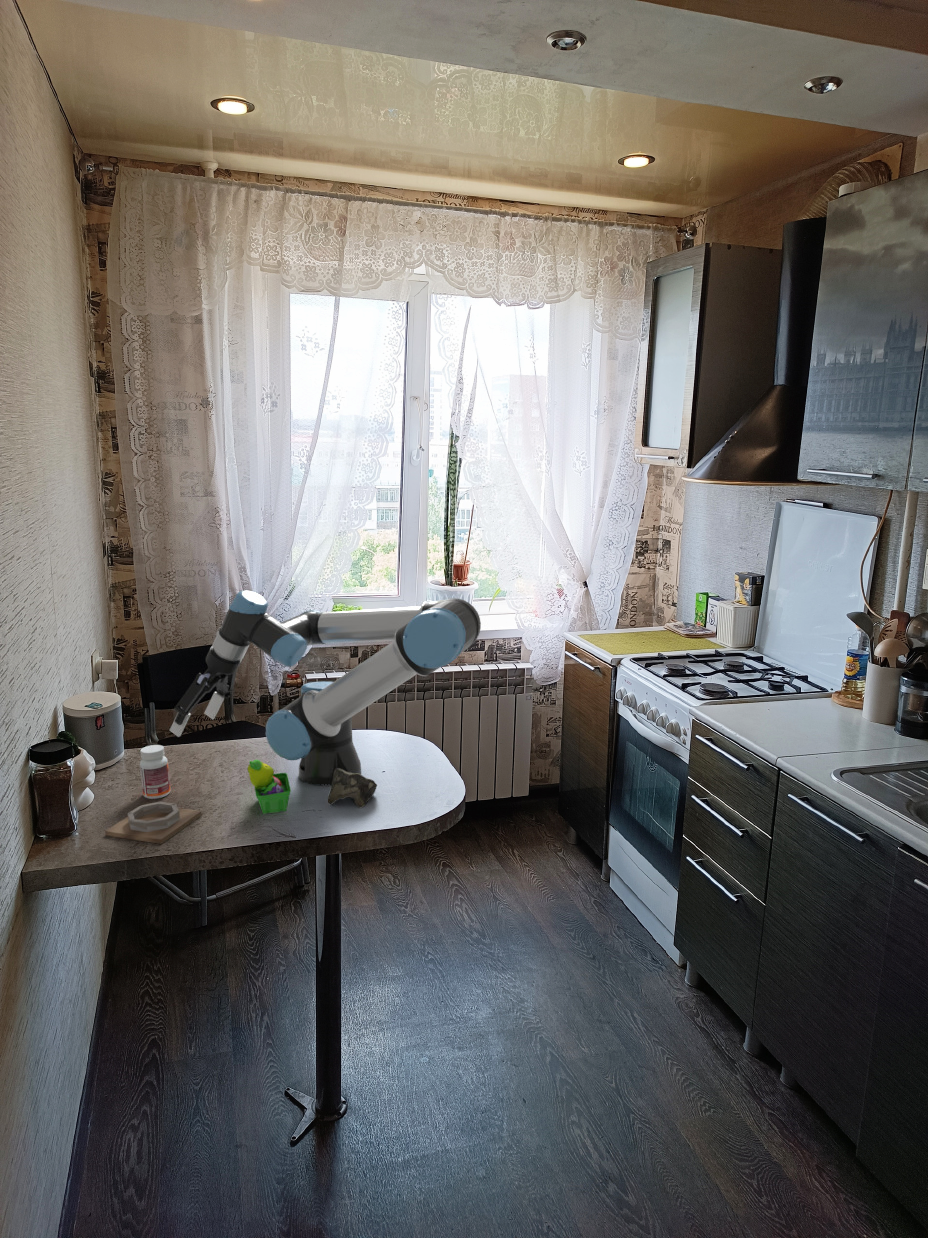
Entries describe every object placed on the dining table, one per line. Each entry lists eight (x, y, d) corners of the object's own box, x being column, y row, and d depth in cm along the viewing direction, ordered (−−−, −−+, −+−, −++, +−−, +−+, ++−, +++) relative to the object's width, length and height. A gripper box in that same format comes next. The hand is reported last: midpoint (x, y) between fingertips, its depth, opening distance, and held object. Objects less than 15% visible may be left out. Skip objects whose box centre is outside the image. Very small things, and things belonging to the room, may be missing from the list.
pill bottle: (176, 792, 201) (171, 747, 199) (153, 802, 197) (148, 755, 194) (160, 786, 205) (156, 742, 203) (137, 795, 200) (132, 750, 198)
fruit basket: (292, 812, 190) (289, 764, 187) (251, 818, 187) (248, 770, 185) (288, 792, 201) (285, 747, 198) (249, 797, 198) (245, 751, 196)
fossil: (381, 787, 201) (377, 759, 195) (375, 819, 194) (370, 791, 188) (335, 785, 202) (330, 757, 196) (328, 817, 195) (322, 789, 189)
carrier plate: (201, 815, 189) (200, 802, 189) (161, 844, 176) (160, 830, 176) (148, 808, 193) (147, 795, 193) (105, 835, 180) (103, 822, 180)
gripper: (243, 632, 209) (210, 701, 216) (181, 655, 186) (146, 731, 193) (268, 649, 208) (234, 717, 215) (208, 674, 185) (172, 750, 191)
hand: (192, 724), depth 204 cm, fingers open, 13 cm apart
